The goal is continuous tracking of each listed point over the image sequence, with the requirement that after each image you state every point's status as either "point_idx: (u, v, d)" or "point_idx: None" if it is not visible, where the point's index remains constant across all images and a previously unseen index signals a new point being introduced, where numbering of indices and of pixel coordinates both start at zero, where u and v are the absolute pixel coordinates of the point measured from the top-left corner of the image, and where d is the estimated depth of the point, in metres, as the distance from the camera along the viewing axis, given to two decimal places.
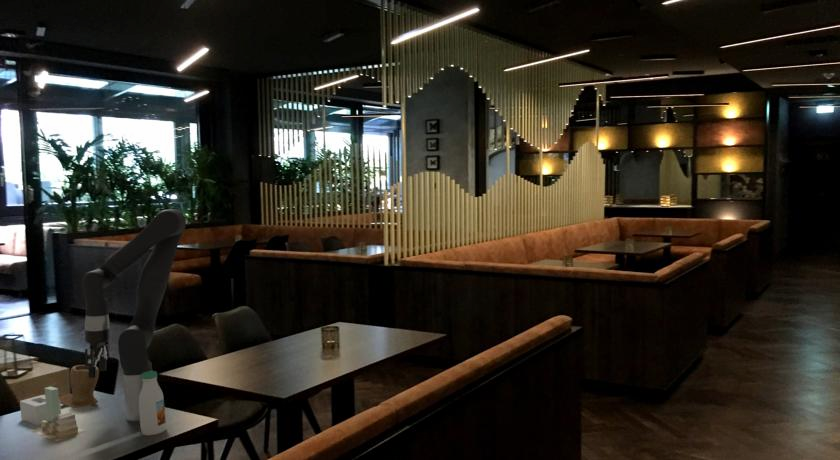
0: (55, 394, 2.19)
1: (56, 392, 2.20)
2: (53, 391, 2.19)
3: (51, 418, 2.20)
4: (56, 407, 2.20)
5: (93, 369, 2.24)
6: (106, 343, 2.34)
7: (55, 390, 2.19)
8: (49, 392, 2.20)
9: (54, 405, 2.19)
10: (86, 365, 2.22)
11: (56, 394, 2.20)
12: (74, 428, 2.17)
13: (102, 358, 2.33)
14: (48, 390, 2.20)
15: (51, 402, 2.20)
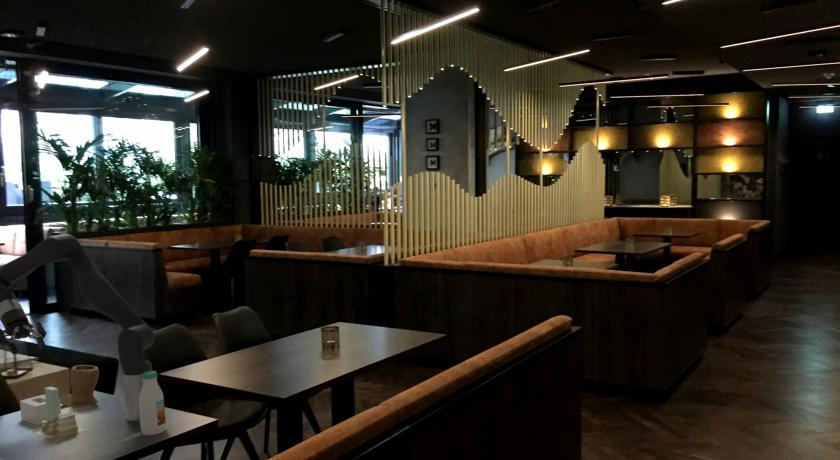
0: (55, 394, 2.19)
1: (56, 392, 2.20)
2: (53, 391, 2.19)
3: (51, 418, 2.20)
4: (56, 407, 2.20)
5: (11, 345, 2.25)
6: (37, 324, 2.36)
7: (55, 390, 2.19)
8: (49, 392, 2.20)
9: (54, 405, 2.19)
10: (1, 345, 2.25)
11: (56, 394, 2.20)
12: (74, 428, 2.17)
13: (37, 338, 2.33)
14: (48, 390, 2.20)
15: (51, 402, 2.20)
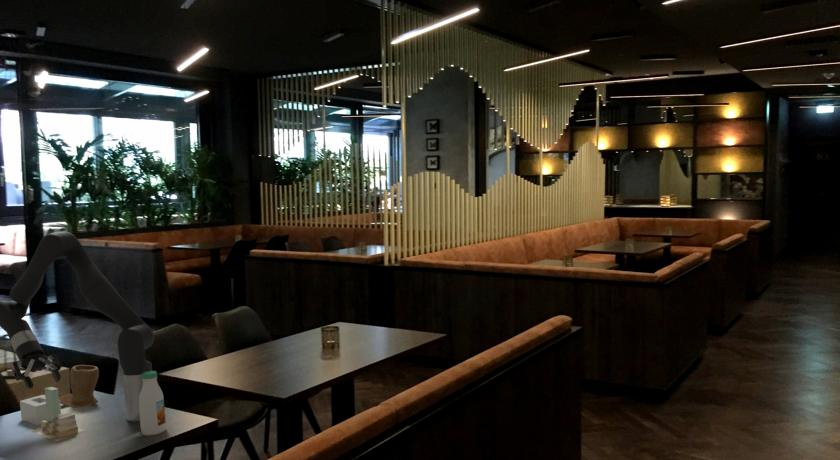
0: (55, 394, 2.19)
1: (56, 392, 2.20)
2: (53, 391, 2.19)
3: (51, 418, 2.20)
4: (56, 407, 2.20)
5: (26, 379, 2.20)
6: (52, 356, 2.31)
7: (55, 390, 2.19)
8: (49, 392, 2.20)
9: (54, 405, 2.19)
10: (16, 379, 2.20)
11: (56, 394, 2.20)
12: (74, 428, 2.17)
13: (52, 370, 2.28)
14: (48, 390, 2.20)
15: (51, 402, 2.20)
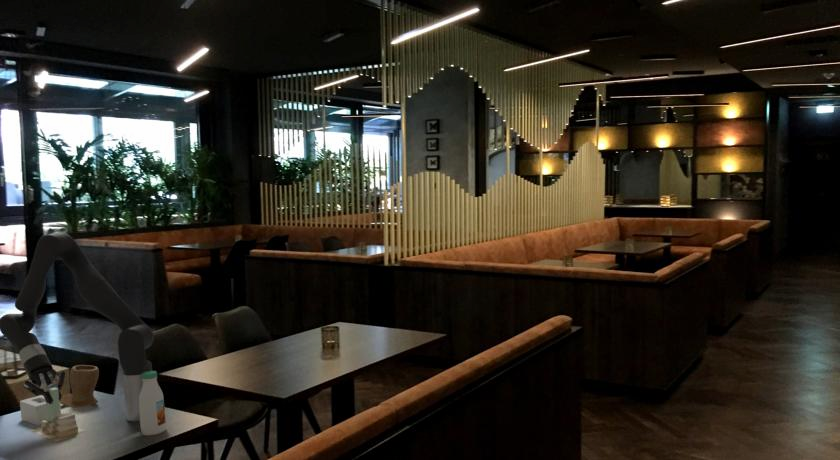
0: (55, 394, 2.19)
1: (56, 392, 2.20)
2: (53, 391, 2.19)
3: (51, 418, 2.20)
4: (56, 407, 2.20)
5: (46, 394, 2.19)
6: (60, 374, 2.27)
7: (55, 390, 2.19)
8: (49, 392, 2.20)
9: (54, 405, 2.19)
10: (37, 394, 2.19)
11: (56, 394, 2.20)
12: (74, 428, 2.17)
13: None
14: (48, 390, 2.20)
15: None
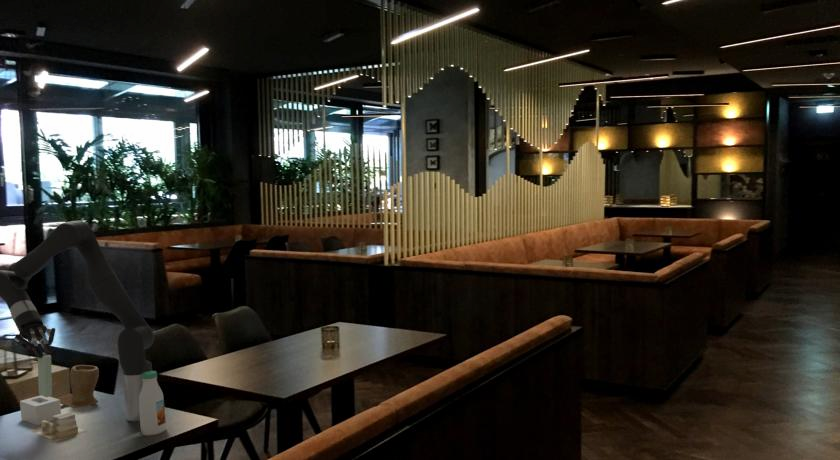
0: (47, 361, 2.22)
1: (49, 359, 2.23)
2: (46, 358, 2.22)
3: (42, 384, 2.24)
4: (48, 374, 2.23)
5: (36, 349, 2.23)
6: (51, 330, 2.30)
7: (48, 357, 2.22)
8: (42, 358, 2.23)
9: (46, 371, 2.22)
10: (27, 348, 2.22)
11: (49, 361, 2.23)
12: (74, 428, 2.17)
13: (43, 344, 2.26)
14: None
15: (43, 368, 2.23)
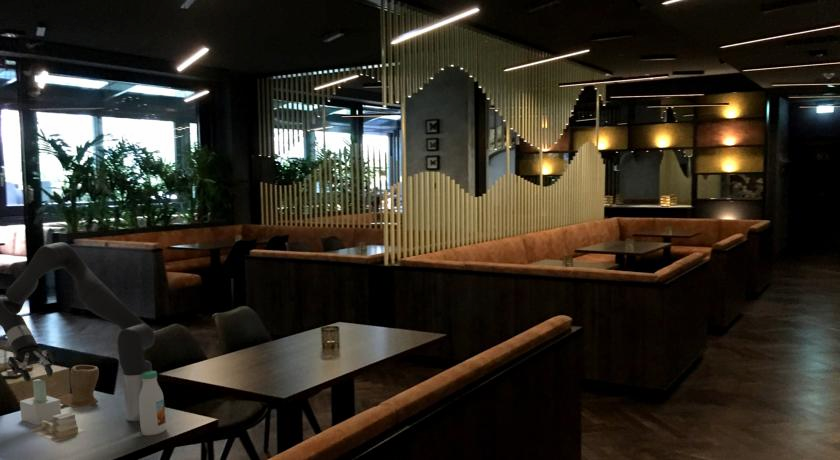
0: (42, 386, 2.31)
1: (43, 384, 2.31)
2: (40, 383, 2.31)
3: None
4: (43, 399, 2.31)
5: (24, 372, 2.29)
6: (46, 351, 2.39)
7: (42, 382, 2.31)
8: (37, 384, 2.31)
9: (41, 397, 2.31)
10: (14, 372, 2.29)
11: (43, 386, 2.31)
12: (74, 428, 2.17)
13: (45, 365, 2.36)
14: (36, 382, 2.32)
15: (38, 394, 2.31)
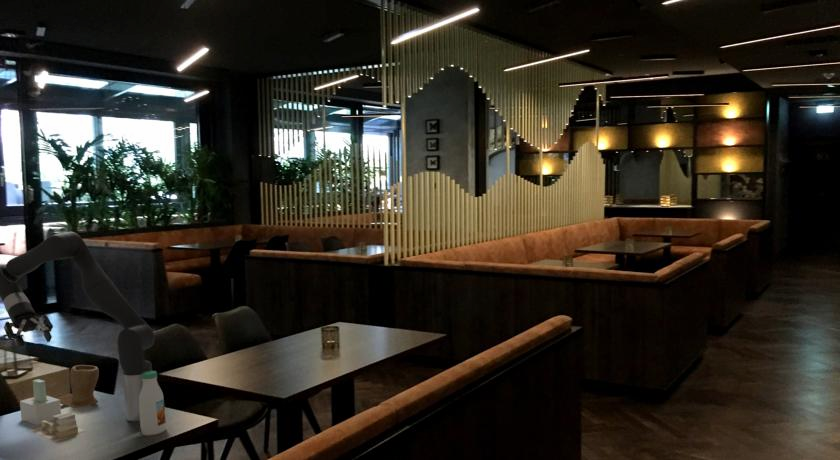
0: (42, 387, 2.31)
1: (43, 384, 2.31)
2: (40, 383, 2.31)
3: None
4: (43, 399, 2.31)
5: (18, 338, 2.28)
6: (43, 318, 2.39)
7: (42, 382, 2.31)
8: (37, 384, 2.31)
9: (41, 397, 2.31)
10: (8, 337, 2.28)
11: (43, 386, 2.31)
12: (74, 428, 2.17)
13: (44, 330, 2.36)
14: (36, 382, 2.32)
15: (38, 394, 2.31)
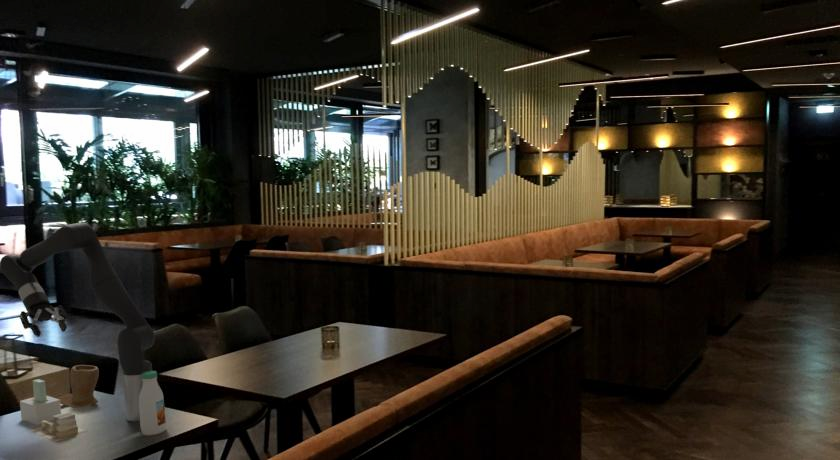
0: (42, 387, 2.31)
1: (43, 384, 2.31)
2: (40, 383, 2.31)
3: None
4: (43, 399, 2.31)
5: (34, 327, 2.29)
6: (58, 308, 2.40)
7: (42, 382, 2.31)
8: (37, 384, 2.31)
9: (41, 397, 2.31)
10: (24, 327, 2.29)
11: (43, 386, 2.31)
12: (74, 428, 2.17)
13: (59, 320, 2.37)
14: (36, 382, 2.32)
15: (38, 394, 2.31)
